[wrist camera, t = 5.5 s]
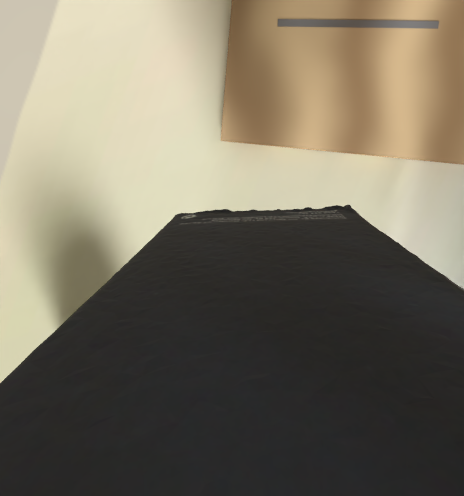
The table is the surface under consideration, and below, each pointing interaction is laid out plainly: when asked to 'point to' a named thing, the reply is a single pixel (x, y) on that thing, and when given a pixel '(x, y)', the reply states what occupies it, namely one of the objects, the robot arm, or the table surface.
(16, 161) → the table surface
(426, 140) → the board
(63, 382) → the small box
